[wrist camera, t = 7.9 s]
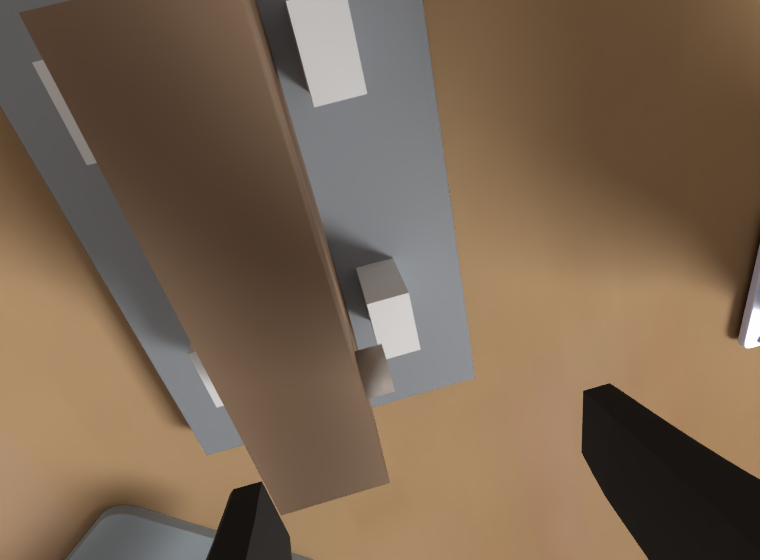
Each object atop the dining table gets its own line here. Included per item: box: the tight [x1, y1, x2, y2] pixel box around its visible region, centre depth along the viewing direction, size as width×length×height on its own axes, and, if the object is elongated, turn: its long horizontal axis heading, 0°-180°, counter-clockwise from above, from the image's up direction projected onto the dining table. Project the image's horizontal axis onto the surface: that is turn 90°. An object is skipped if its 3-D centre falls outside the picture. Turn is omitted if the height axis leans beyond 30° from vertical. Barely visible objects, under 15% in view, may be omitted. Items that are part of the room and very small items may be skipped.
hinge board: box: [0, 0, 475, 455], centre depth 16 cm, size 12×20×4 cm, turn 11°
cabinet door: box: [19, 0, 395, 515], centre depth 13 cm, size 4×12×7 cm, turn 11°
